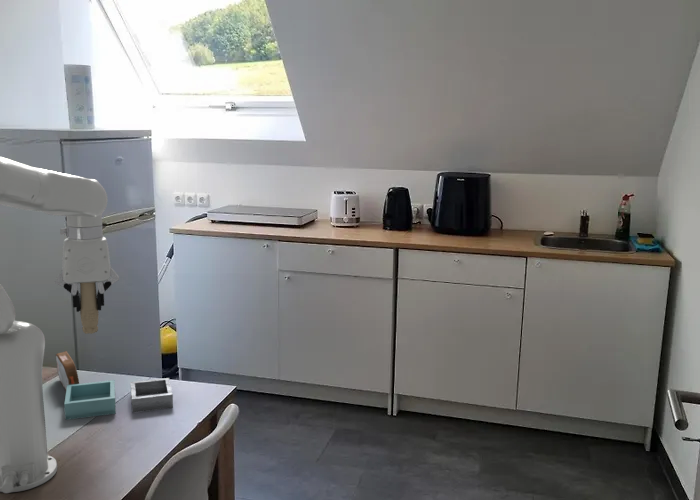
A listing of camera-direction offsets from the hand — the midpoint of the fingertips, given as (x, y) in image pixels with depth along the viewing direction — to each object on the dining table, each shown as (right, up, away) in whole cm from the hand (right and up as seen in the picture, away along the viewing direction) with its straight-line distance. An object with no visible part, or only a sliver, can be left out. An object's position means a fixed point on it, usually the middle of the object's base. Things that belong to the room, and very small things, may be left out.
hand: (89, 308), depth 152 cm
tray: (-2, -24, +5) cm, 25 cm away
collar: (+12, -24, +9) cm, 28 cm away
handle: (0, -6, +1) cm, 6 cm away
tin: (-12, -22, +16) cm, 30 cm away
